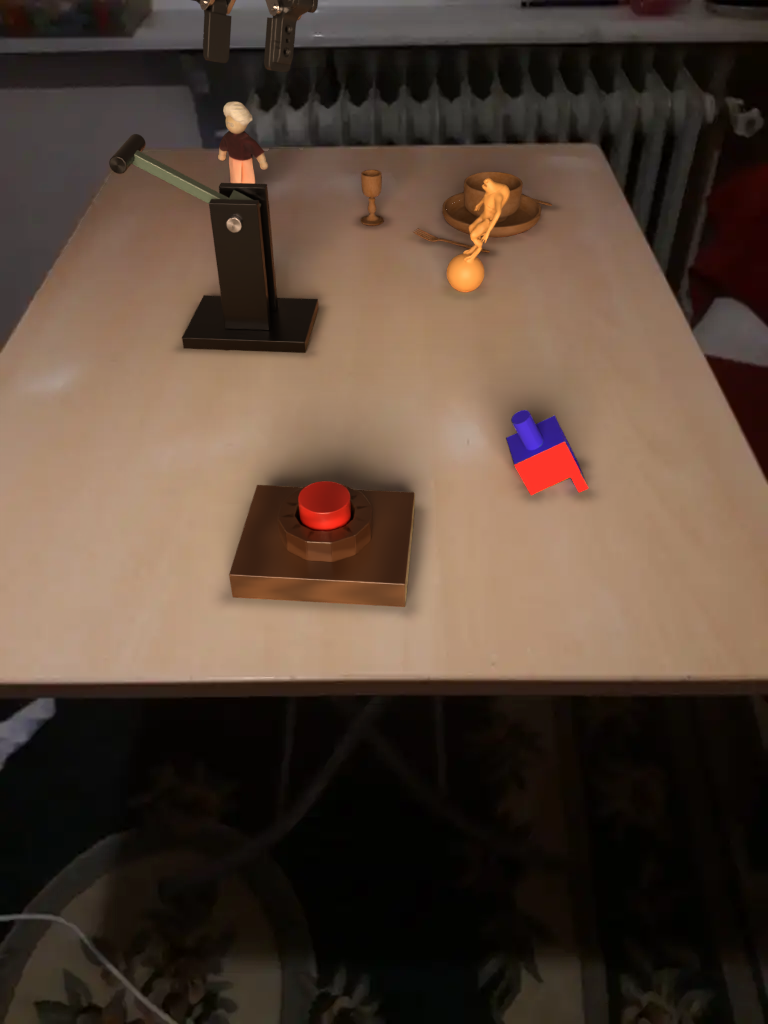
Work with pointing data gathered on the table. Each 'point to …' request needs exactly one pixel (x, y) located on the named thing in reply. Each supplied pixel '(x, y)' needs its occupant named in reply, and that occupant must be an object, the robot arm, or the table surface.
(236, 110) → the grandmother figurine
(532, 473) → the toy building block
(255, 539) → the button block
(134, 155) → the lever
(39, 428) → the table surface
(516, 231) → the place setting
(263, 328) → the bracket
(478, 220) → the figurine
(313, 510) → the button
